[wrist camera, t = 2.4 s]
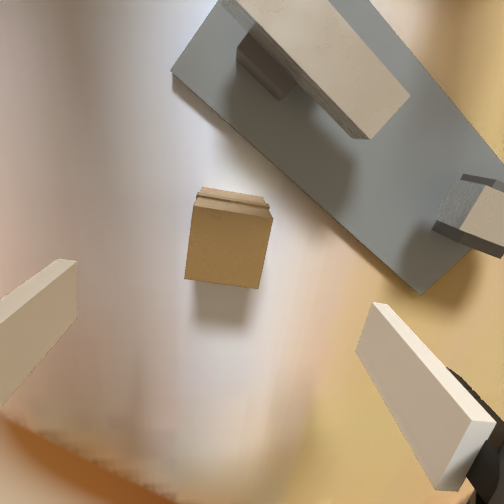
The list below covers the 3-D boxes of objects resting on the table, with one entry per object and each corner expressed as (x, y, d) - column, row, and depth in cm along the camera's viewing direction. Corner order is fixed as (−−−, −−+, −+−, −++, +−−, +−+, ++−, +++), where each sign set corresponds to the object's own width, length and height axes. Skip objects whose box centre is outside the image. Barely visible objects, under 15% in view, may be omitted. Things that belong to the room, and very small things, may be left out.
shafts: (220, 5, 18) (218, -18, 15) (288, -93, 17) (299, -137, 14) (488, 277, 26) (520, 295, 23) (549, 224, 24) (591, 236, 22)
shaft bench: (172, 73, 23) (159, 60, 19) (284, -89, 20) (298, -146, 16) (414, 290, 31) (443, 315, 27) (520, 194, 28) (571, 205, 24)
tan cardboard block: (193, 245, 28) (182, 280, 21) (201, 185, 26) (191, 203, 20) (252, 253, 29) (259, 290, 22) (264, 196, 27) (274, 217, 20)
